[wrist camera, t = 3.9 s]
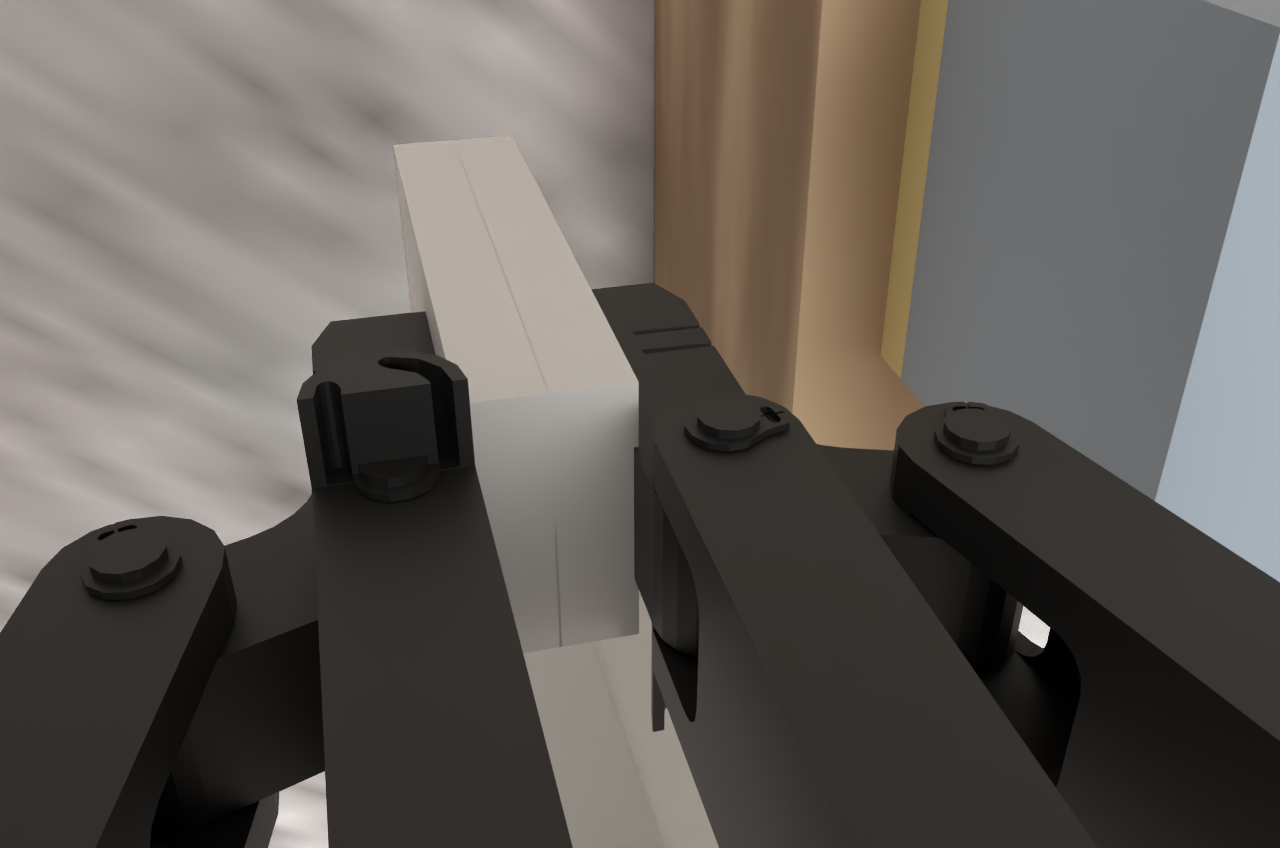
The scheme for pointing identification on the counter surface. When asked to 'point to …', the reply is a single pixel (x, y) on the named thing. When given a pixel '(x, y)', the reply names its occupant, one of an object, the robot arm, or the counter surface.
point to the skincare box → (615, 747)
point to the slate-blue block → (1103, 240)
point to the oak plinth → (787, 196)
